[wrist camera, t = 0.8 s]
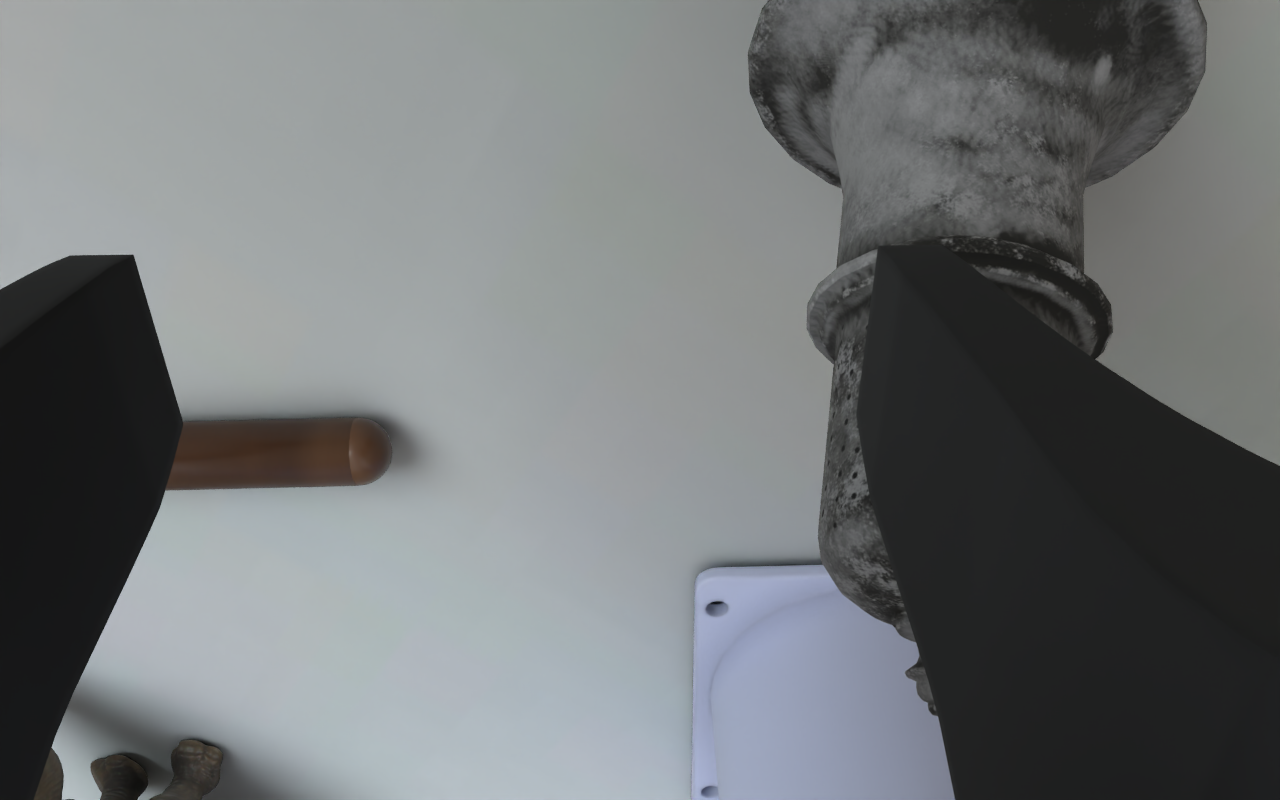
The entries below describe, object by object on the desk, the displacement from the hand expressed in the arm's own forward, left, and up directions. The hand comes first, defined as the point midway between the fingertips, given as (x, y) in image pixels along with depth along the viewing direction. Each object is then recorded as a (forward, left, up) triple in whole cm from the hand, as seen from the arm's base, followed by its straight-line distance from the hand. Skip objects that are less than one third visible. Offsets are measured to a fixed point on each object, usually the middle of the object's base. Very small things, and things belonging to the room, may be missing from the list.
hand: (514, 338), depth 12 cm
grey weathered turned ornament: (+2, -6, -9) cm, 11 cm away
